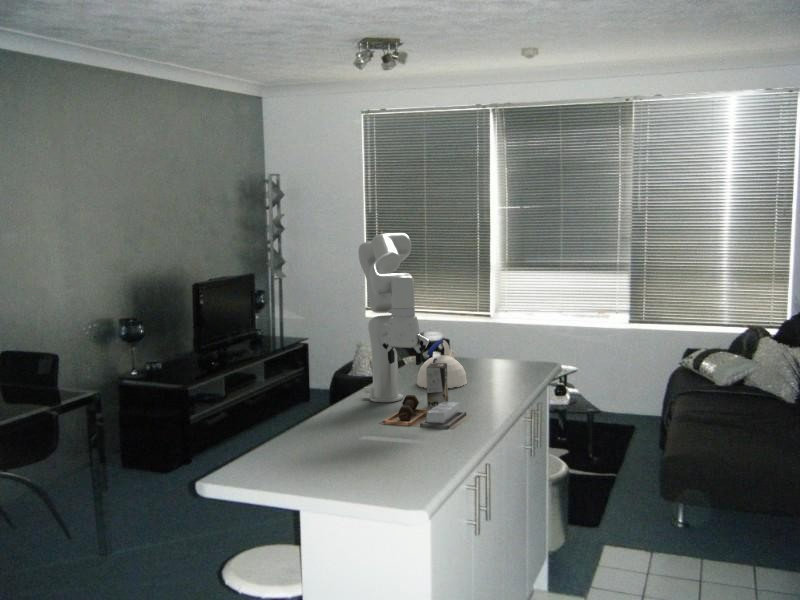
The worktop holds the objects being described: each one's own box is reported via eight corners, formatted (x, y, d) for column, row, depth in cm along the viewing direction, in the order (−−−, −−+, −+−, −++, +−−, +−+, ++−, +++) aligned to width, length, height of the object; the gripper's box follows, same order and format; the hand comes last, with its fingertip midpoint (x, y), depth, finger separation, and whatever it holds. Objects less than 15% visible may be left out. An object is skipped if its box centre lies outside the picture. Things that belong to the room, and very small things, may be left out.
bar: (427, 425, 260) (426, 412, 260) (443, 414, 274) (442, 401, 273) (444, 427, 258) (444, 413, 257) (459, 415, 271) (459, 402, 271)
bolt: (401, 428, 265) (409, 412, 279) (414, 420, 264) (421, 405, 278) (392, 413, 264) (400, 398, 279) (404, 406, 263) (412, 391, 277)
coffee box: (445, 413, 280) (444, 367, 278) (427, 413, 281) (425, 367, 280) (449, 407, 289) (447, 362, 287) (431, 406, 290) (429, 362, 289)
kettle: (476, 381, 332) (474, 337, 330) (451, 391, 315) (450, 345, 313) (433, 377, 343) (431, 335, 341) (407, 387, 326) (405, 342, 324)
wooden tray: (378, 427, 265) (378, 420, 265) (400, 413, 282) (400, 407, 282) (453, 433, 255) (453, 426, 255) (471, 418, 272) (471, 412, 271)
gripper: (374, 313, 267) (376, 364, 269) (423, 314, 260) (425, 367, 262) (384, 310, 274) (386, 360, 276) (432, 311, 267) (433, 362, 269)
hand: (405, 363), depth 269 cm, fingers open, 9 cm apart
